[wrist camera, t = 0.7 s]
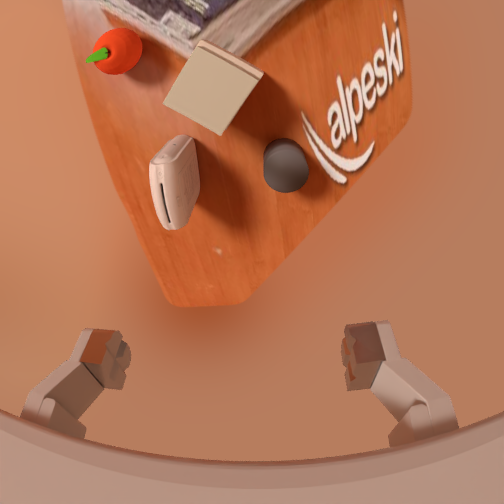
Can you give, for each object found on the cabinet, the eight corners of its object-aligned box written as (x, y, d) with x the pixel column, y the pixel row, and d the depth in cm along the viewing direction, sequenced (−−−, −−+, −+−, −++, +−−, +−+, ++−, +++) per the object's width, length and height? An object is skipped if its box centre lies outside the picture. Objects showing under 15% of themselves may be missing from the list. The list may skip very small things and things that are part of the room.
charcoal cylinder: (278, 130, 42) (280, 143, 37) (311, 152, 44) (317, 167, 39) (255, 162, 45) (255, 178, 41) (288, 181, 47) (291, 200, 42)
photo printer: (168, 134, 43) (139, 165, 33) (195, 132, 43) (173, 162, 33) (177, 194, 49) (156, 238, 39) (203, 193, 49) (187, 237, 39)
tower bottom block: (207, 40, 34) (200, 39, 30) (263, 71, 37) (263, 73, 33) (176, 92, 39) (166, 98, 35) (229, 121, 42) (225, 130, 38)
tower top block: (203, 46, 31) (196, 46, 28) (258, 77, 33) (258, 80, 30) (171, 98, 35) (162, 104, 32) (224, 127, 38) (220, 135, 34)
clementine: (105, 79, 37) (82, 87, 31) (97, 39, 33) (72, 42, 27) (153, 64, 36) (134, 69, 30) (145, 22, 32) (125, 19, 26)
